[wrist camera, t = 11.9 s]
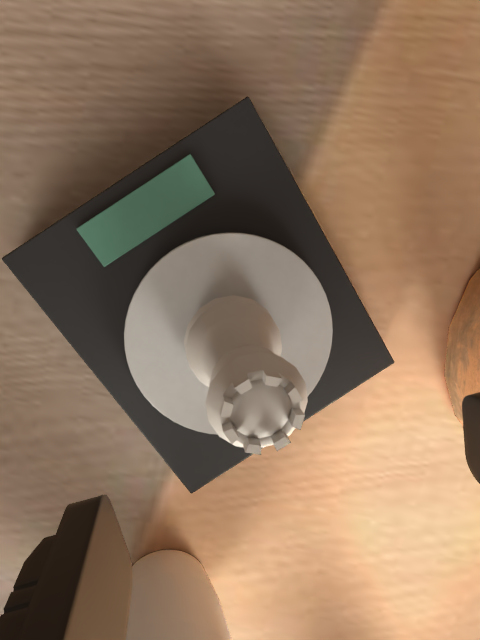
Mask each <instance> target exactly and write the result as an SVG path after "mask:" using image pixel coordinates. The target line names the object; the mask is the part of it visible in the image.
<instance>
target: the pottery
mask: <svg viewBox="0 0 480 640" xmlns="http://www.w3.org/2000/svg"><path fill="white" fill-rule="evenodd" d="M444 376H445V379H446V383H447V387H448V391H449V394H450V398H451V402H452V406H453V409H454V413H455V416H456V417H457V418H458V420H459V421H460V422H461V423H462V425H463V416H462V401H463V399H464V397H465V396H467V395H471V394H474V393H478V392H480V268H479V269H478V271H477V272H476V273H475V274H474V275H473V277H472V278H471V279H470V280H469V283H468V285H467V287H466V290H465V292H464V294H463V296H462V299H461V301H460V303H459V306H458V308H457V310H456V312H455V315H454V317H453V319H452V322H451V324H450V326H449V332H448V342H447V352H446V362H445V372H444Z"/></svg>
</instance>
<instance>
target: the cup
mask: <svg viewBox="0 0 480 640" xmlns="http://www.w3.org/2000/svg"><path fill="white" fill-rule="evenodd" d="M126 640H232V639H231V636H230V632H229V629H228V626H227V623H226V619H225V616H224V613H223V609H222V606H221V603H220V600H219V598H218V596H217V594H216V592H215V590H214V588H213V586H212V584H211V582H210V580H209V578H208V576H207V574H206V572H205V570H204V568H203V566H202V565H201V563H200V562H199V561H198V560H197V559H196V558H195V557H193V556H192V555H190V554H188V553H185V552H182V551H178V550H160V551H156V552H153V553H150V554H148V555H146V556H144V557H142V558H141V559H139V560H138V561H137V562H136V563H135V564H134V565H133V566H132V593H131V601H130V609H129V618H128V626H127V634H126Z"/></svg>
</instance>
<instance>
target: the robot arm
mask: <svg viewBox="0 0 480 640" xmlns="http://www.w3.org/2000/svg"><path fill="white" fill-rule="evenodd" d="M462 416H463V429H464V442H465V455H466V460H467V463H468V466H469V468H470V470H471V472H472V474H473V476H474V477H475V479H476V480H477V481H478V482H479V483H480V392H478V393H474V394H471V395H467V396H465V397H464V399H463V401H462ZM13 588H14V592H11V594H10V596H9V598H8V601H7V603H6V605H5V607H4V614H3V615H1V617H0V640H126V634H127V626H128V618H129V609H130V601H131V593H132V566H131V560H130V555H129V552H128V549H127V546H126V543H125V540H124V538H123V535H122V532H121V529H120V526H119V523H118V521H117V518H116V515H115V512H114V509H113V507H112V504H111V501H110V499H109V498H108V496H107V495H101V496H98V497H94V498H90V499H87V500H83V501H79V502H76V503H72V504H69V505H68V506H67V507H66V509H65V511H64V514H63V517H62V519H61V522H60V525H59V527H58V530H57V533H56V535H53V536H50V537H46V538H44V539H43V540H42V541H41V542H40V544H39V545H38V546H37V547H36V548H35V550H34V551H33V552H32V553H31V555H30V556H29V557H28V558H27V559H26V561H25V562H24V564H23V566H22V569H21V571H20V573H19V575H18V578H17V580H16V582H15V585H14V587H13Z"/></svg>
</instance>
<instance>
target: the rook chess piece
mask: <svg viewBox="0 0 480 640" xmlns="http://www.w3.org/2000/svg"><path fill="white" fill-rule="evenodd" d="M184 347H185V352H186V358H187V361H188V364H189V367H190V368H191V370H192V371H193V373H194V374H195V376H196V377H197V379H198V380H199V381H200V382H201V383H203V384H204V385H206V386H208V387H209V389H208V393H207V398H206V402H205V405H206V410H207V415H208V421H209V423H210V424H211V426H212V427H213V428H214V430H215V431H216V433H217V434H218V435H219V437H221V438H223V439H224V440H226V441H228V442H229V443H231V444H233V445H234V446H237V447H244V450H245V452H246V453H252V454H259V455H261V448H262V447H267V446H271V445H274V446H275V448H276V451H278V450H280V449H281V448H283V447H285V446H286V445H288V444H289V443H291V442H290V440H289V438H288V436H289V435H291V433H292V432H293V431H294V429H295V428H297V429H299V430H301V427H302V424H303V420H304V417H305V414H304V412H305V409H306V405H307V402H308V399H307V391H306V383H305V381H304V379H303V378H302V376H301V375H300V373H299V371H298V370H297V368H296V367H295V366H294V365H292V364H291V363H289V362H288V361H286V360H285V359H284V358H282V357H281V356H280V355H281V352H282V345H281V337H280V330H279V329H278V327H277V325H276V323H275V322H274V320H273V318H272V317H271V315H270V313H269V312H268V310H267V309H266V308H264V307H263V306H261V305H260V304H259V303H257V302H256V301H254V300H253V299H249V298H245V297H240V296H235V295H232V296H227V297H221V298H215V299H214V300H212V301H210V302H209V303H207V304H206V305H204V306H202V307H201V308H199V309H198V311H197V312H196V313H195V315H194V316H193V318H192V319H191V320H190V322H189V323H188V325H187V329H186V334H185V338H184Z"/></svg>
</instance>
